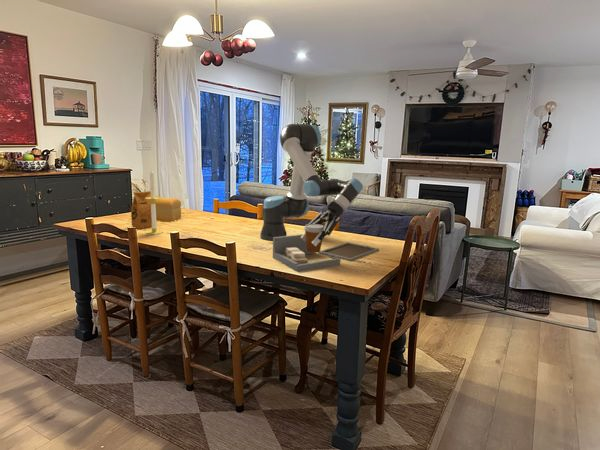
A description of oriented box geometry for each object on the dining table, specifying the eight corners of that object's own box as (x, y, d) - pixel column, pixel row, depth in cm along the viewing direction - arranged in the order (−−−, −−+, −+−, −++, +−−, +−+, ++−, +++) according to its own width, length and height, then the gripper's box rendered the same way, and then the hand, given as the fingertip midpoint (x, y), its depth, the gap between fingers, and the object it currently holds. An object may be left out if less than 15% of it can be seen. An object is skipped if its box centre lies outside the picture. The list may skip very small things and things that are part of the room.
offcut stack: (283, 258, 199) (283, 246, 198) (294, 257, 201) (295, 245, 200) (296, 269, 183) (296, 256, 182) (309, 268, 185) (309, 255, 184)
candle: (167, 231, 246) (164, 167, 238) (154, 235, 237) (151, 168, 229) (154, 229, 250) (152, 166, 243) (141, 232, 242) (138, 167, 234)
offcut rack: (272, 257, 199) (273, 237, 197) (313, 252, 210) (314, 233, 208) (296, 271, 180) (297, 248, 178) (340, 264, 191) (341, 243, 189)
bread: (181, 218, 288) (181, 196, 285) (172, 221, 275) (171, 199, 272) (149, 216, 292) (148, 194, 289) (139, 219, 280) (137, 197, 277)
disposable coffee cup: (300, 248, 198) (301, 224, 195) (318, 247, 201) (320, 223, 199) (307, 254, 189) (308, 228, 187) (326, 253, 192) (328, 227, 190)
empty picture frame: (379, 248, 218) (347, 260, 195) (378, 251, 218) (347, 263, 195) (348, 242, 230) (314, 252, 207) (347, 245, 230) (314, 255, 207)
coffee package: (129, 226, 256) (127, 191, 252) (149, 224, 265) (147, 189, 261) (137, 229, 250) (135, 193, 245) (156, 226, 258) (155, 191, 254)
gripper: (356, 215, 190) (325, 253, 185) (329, 207, 208) (300, 241, 204) (347, 204, 186) (316, 242, 181) (321, 197, 204) (291, 231, 200)
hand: (308, 241), depth 193 cm, fingers closed on disposable coffee cup, 9 cm apart
